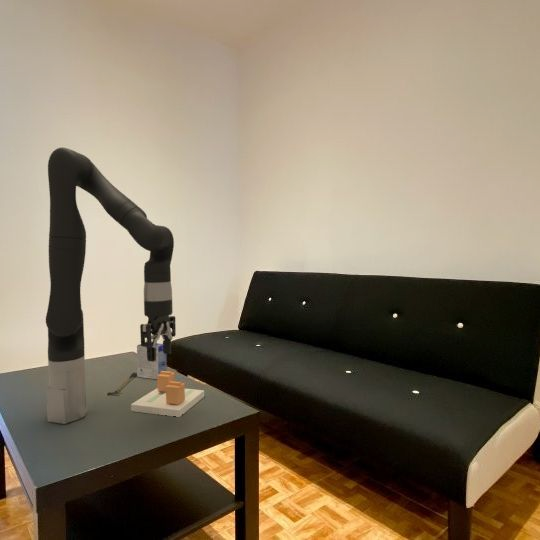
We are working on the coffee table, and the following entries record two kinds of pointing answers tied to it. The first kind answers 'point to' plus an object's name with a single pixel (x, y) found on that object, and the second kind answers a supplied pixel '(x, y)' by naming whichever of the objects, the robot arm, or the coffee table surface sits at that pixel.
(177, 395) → the tab
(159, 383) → the tab
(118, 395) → the tactical tomahawk
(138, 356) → the ink cartridge box
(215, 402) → the coffee table surface
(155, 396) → the switch bank
